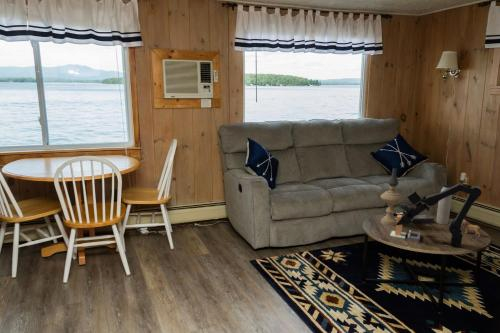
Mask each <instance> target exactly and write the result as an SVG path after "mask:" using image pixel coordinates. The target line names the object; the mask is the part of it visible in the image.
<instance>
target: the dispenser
mask: <svg viewBox="0 0 500 333" xmlns="http://www.w3.org/2000/svg"><path fill="white" fill-rule="evenodd" d="M420 239H421V232H418V231H413V230H411V229H409V231H408V233H407V237H406V240H407V241H410V242H416V243H420Z"/></svg>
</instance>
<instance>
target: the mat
mask: <svg viewBox="0 0 500 333" xmlns="http://www.w3.org/2000/svg"><path fill="white" fill-rule="evenodd" d="M389 235H390V236H389V237H393V238H399V239H403V240H405V239H406V235H407V232H403V231H402V233H401V236H398V235H395V230H391V231H390V234H389Z"/></svg>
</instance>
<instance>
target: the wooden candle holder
mask: <svg viewBox="0 0 500 333" xmlns="http://www.w3.org/2000/svg"><path fill="white" fill-rule="evenodd" d="M387 183H388V185H389V189H388V190H385V191H384V192H383V193H382V194H381V195H380V198H381V200H382V201H384V202H386V203H387V205H388V207H387V208H385V211H386V215H385V216H384V217H382V218H381V220H380V223H381V224H383V225H386V226H390V227H391V226H395V227H396V221H397V218H395V216H394V214H395V212H396V211H395V208H394V206H395V204H399V203H402V202H403V200H404V197H403V196H402V194H400V192H398V191H399V189H397V186H398V185H399V180H398V177H397V168H396V167H395V168H394V167H393V168H392V174H391V177H390V178H389V180H388V181H387Z"/></svg>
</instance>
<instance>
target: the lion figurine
mask: <svg viewBox="0 0 500 333" xmlns="http://www.w3.org/2000/svg"><path fill="white" fill-rule="evenodd" d="M461 228H463V229H464V230H465V231H464V234H467V233H468V230H470V231H475V233H474V235H475V236H476V235H477V238H480V237H484V235H483V234H482V230H481V227H480V226H479V225H475V224H472V223H471V222H469V221H468V220H466V219H464V220H463V221H462V225H461Z"/></svg>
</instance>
